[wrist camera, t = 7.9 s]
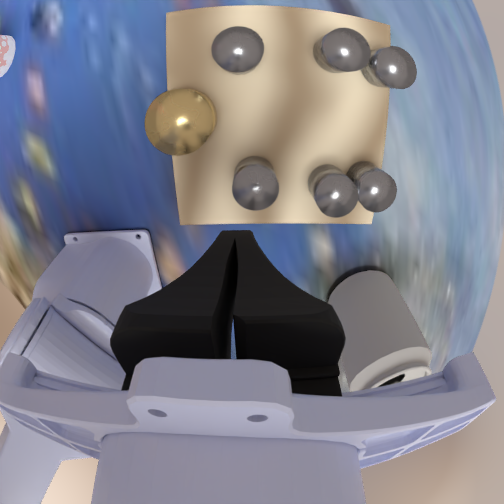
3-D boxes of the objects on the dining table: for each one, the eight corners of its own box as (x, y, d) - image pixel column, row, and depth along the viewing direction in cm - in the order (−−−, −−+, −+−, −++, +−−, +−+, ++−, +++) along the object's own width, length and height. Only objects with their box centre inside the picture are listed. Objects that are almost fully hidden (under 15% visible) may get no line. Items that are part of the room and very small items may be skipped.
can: (361, 252, 25) (414, 355, 15) (403, 283, 27) (451, 372, 17) (310, 303, 28) (334, 408, 18) (356, 326, 30) (385, 415, 20)
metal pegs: (221, 200, 21) (218, 218, 19) (216, 30, 14) (211, 20, 11) (380, 203, 21) (396, 219, 19) (396, 49, 14) (416, 46, 12)
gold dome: (159, 150, 19) (148, 158, 17) (154, 92, 16) (142, 93, 14) (218, 145, 19) (214, 153, 17) (216, 86, 16) (211, 85, 14)
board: (181, 221, 23) (180, 224, 22) (168, 14, 13) (166, 13, 13) (368, 220, 23) (371, 224, 22) (386, 26, 13) (390, 25, 13)
